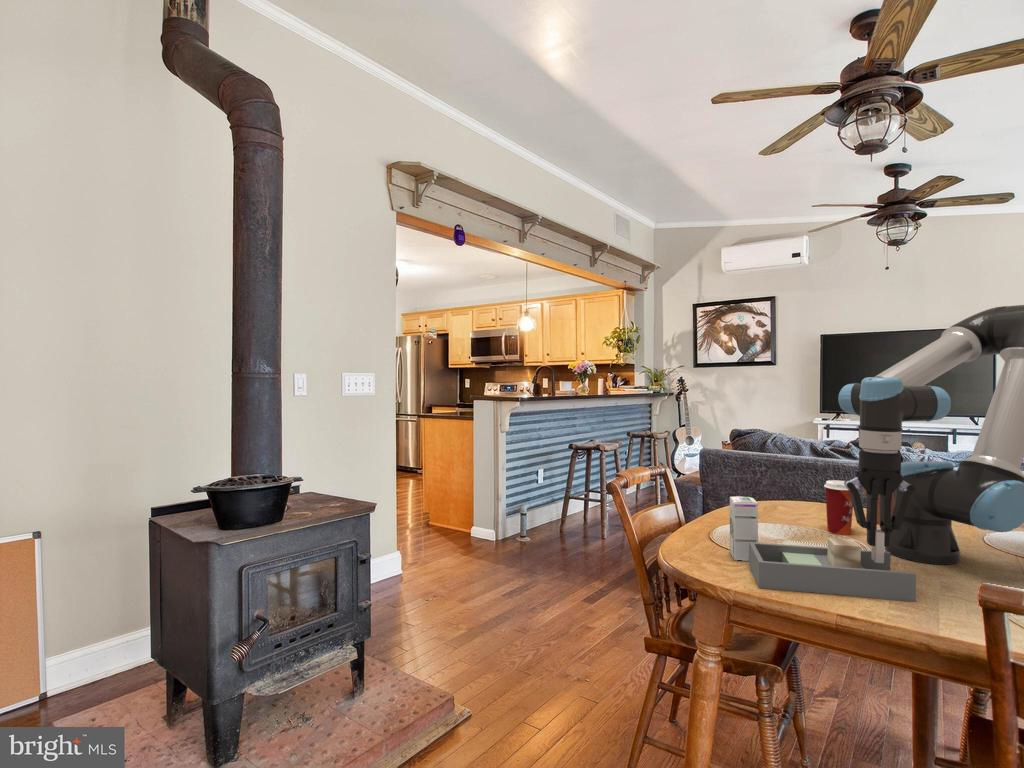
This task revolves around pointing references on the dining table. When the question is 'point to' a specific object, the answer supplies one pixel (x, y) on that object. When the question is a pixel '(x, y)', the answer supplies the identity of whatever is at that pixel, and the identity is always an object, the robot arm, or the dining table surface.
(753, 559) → the trap lane
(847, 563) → the birch block
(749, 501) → the syrup box
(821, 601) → the dining table surface
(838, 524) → the paper cup
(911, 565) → the dining table surface
